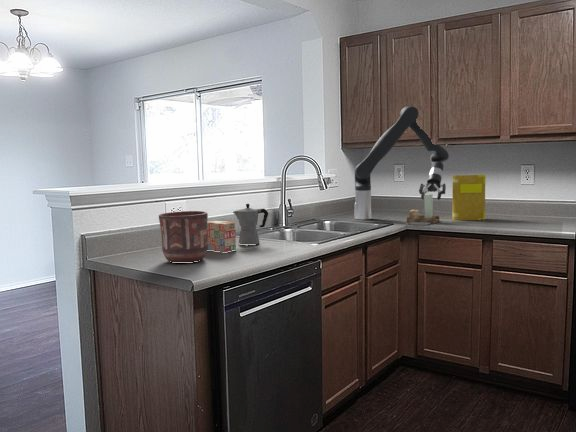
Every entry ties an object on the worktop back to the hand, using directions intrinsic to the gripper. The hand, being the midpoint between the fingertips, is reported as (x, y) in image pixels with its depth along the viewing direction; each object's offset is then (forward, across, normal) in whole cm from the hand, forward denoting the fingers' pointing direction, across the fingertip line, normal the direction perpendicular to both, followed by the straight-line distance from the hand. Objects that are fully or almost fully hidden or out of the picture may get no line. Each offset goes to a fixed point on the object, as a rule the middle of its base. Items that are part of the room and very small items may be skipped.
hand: (430, 198), depth 287 cm
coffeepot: (+80, -55, -62) cm, 115 cm away
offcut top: (+9, -8, +3) cm, 13 cm away
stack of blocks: (+93, -62, -75) cm, 135 cm away
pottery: (+109, -58, -91) cm, 154 cm away
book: (0, +18, +18) cm, 26 cm away
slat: (+11, 0, +5) cm, 12 cm away
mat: (+20, -2, -2) cm, 20 cm away
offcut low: (+11, -8, +5) cm, 14 cm away
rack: (+12, -3, +6) cm, 14 cm away
